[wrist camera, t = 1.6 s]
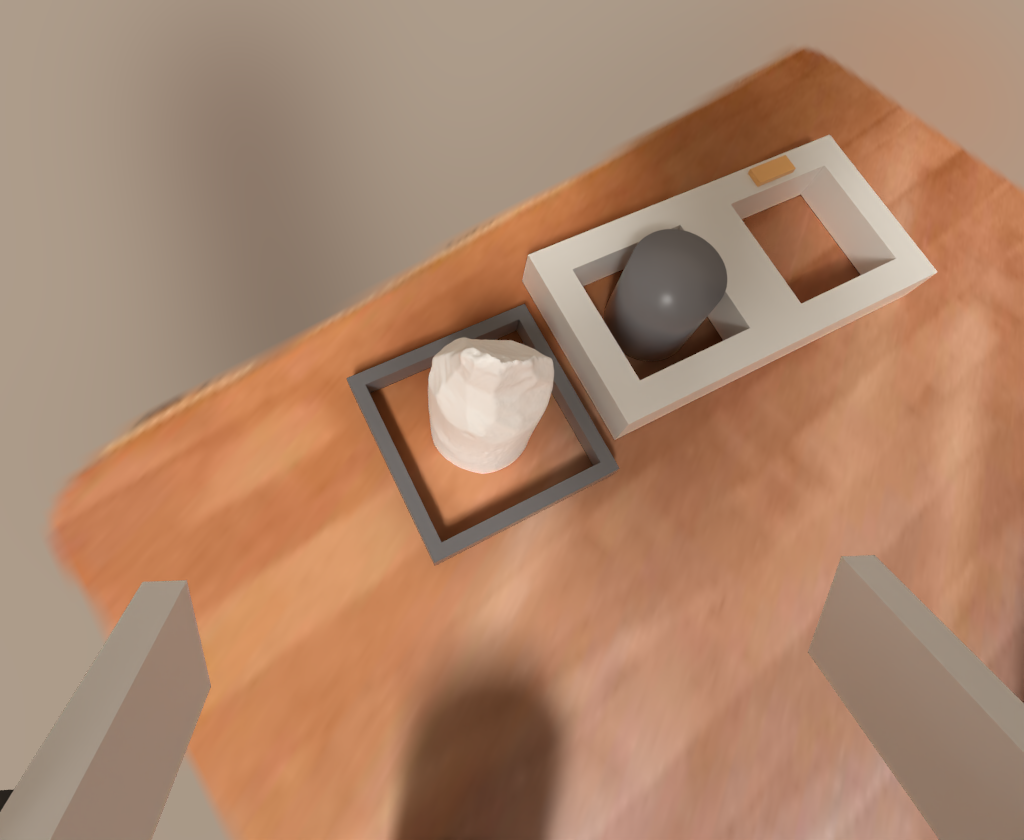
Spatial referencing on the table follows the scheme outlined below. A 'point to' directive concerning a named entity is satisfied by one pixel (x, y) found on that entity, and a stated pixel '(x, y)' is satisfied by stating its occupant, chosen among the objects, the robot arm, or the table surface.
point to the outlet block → (714, 283)
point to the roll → (486, 401)
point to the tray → (444, 550)
